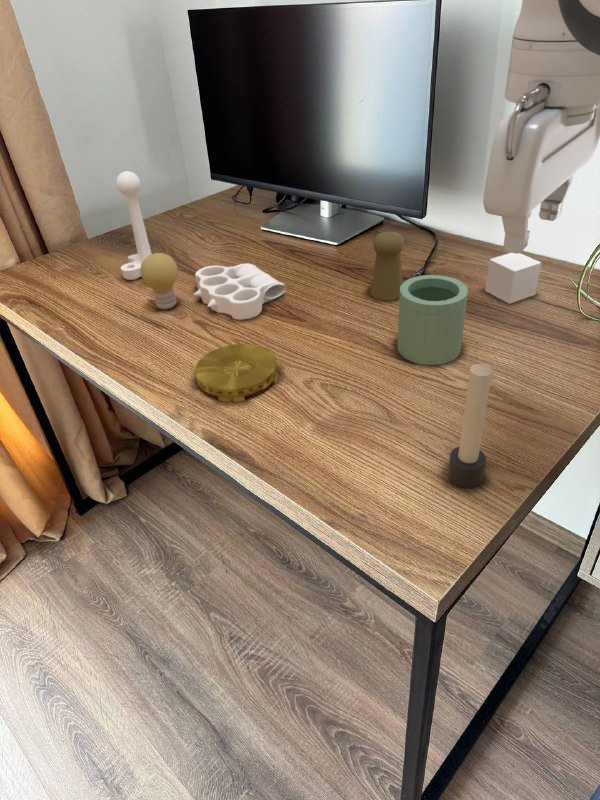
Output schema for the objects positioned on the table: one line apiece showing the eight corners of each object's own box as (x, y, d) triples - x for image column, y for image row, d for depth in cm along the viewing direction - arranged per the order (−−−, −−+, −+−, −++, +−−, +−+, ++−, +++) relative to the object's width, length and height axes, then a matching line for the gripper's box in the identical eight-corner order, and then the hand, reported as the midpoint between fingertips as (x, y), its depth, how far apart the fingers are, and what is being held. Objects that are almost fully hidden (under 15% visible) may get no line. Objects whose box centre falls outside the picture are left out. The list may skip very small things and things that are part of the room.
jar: (468, 339, 92) (475, 281, 86) (449, 370, 86) (456, 310, 80) (410, 327, 96) (413, 270, 90) (387, 356, 90) (390, 297, 84)
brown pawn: (364, 290, 108) (364, 232, 101) (392, 282, 110) (394, 225, 103) (381, 303, 103) (382, 243, 97) (410, 295, 105) (413, 235, 99)
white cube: (510, 282, 107) (515, 251, 103) (535, 294, 102) (541, 262, 99) (484, 290, 105) (489, 259, 101) (509, 303, 100) (514, 271, 97)
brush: (486, 470, 69) (506, 363, 60) (477, 492, 66) (496, 384, 57) (453, 460, 71) (467, 355, 62) (443, 481, 68) (456, 375, 59)
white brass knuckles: (295, 302, 106) (224, 328, 100) (246, 270, 118) (180, 291, 112) (294, 285, 104) (221, 310, 98) (244, 254, 116) (177, 275, 110)
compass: (294, 375, 87) (293, 363, 86) (230, 412, 81) (228, 400, 79) (243, 347, 94) (242, 335, 93) (181, 379, 88) (179, 367, 87)
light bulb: (165, 295, 111) (154, 245, 105) (191, 302, 108) (181, 250, 102) (142, 310, 107) (129, 258, 101) (168, 317, 104) (156, 264, 98)
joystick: (168, 278, 117) (147, 175, 105) (132, 289, 114) (106, 184, 102) (150, 260, 125) (127, 163, 113) (115, 270, 122) (89, 171, 110)
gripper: (559, 101, 42) (525, 280, 50) (632, 58, 54) (596, 207, 62) (474, 96, 45) (456, 265, 53) (562, 56, 57) (536, 198, 66)
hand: (532, 233), depth 58 cm, fingers open, 8 cm apart
